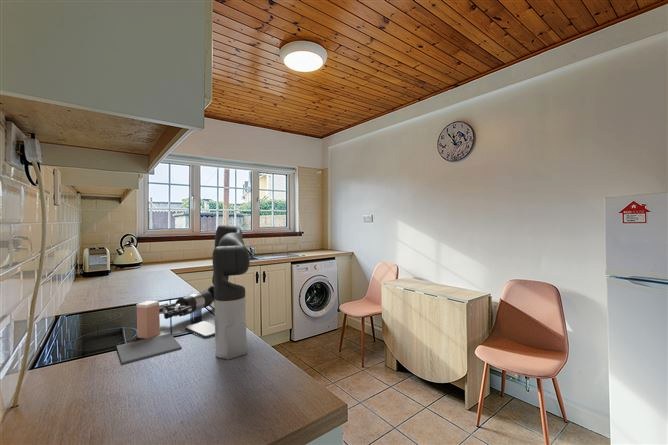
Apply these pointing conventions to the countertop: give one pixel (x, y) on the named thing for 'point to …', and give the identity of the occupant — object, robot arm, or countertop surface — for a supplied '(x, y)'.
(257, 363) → the countertop surface
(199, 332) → the phone case
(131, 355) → the charcoal mat
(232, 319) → the robot arm
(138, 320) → the terracotta block
